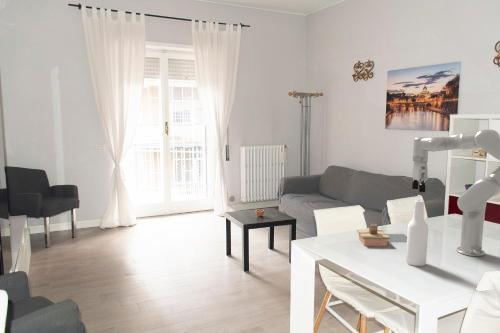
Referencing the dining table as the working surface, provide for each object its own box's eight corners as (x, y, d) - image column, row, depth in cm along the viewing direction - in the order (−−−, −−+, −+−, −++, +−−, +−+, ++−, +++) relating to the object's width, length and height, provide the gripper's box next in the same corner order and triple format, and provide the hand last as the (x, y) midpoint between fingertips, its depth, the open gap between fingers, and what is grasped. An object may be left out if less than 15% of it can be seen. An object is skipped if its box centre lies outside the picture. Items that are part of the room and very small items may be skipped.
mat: (414, 243, 217) (414, 242, 217) (384, 243, 218) (384, 242, 218) (404, 235, 233) (404, 234, 233) (376, 234, 234) (376, 233, 234)
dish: (387, 247, 211) (387, 238, 210) (364, 246, 211) (364, 238, 211) (380, 240, 223) (380, 232, 222) (358, 240, 223) (359, 232, 223)
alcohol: (409, 258, 193) (412, 198, 190) (428, 263, 188) (432, 200, 184) (403, 263, 186) (406, 200, 183) (422, 268, 181) (426, 203, 177)
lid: (390, 239, 209) (390, 228, 209) (363, 239, 210) (363, 227, 209) (382, 232, 223) (382, 221, 223) (356, 231, 224) (357, 221, 223)
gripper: (433, 161, 209) (432, 193, 211) (420, 158, 226) (419, 188, 228) (419, 161, 210) (417, 193, 211) (407, 158, 227) (406, 187, 229)
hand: (418, 190), depth 220 cm, fingers open, 9 cm apart
